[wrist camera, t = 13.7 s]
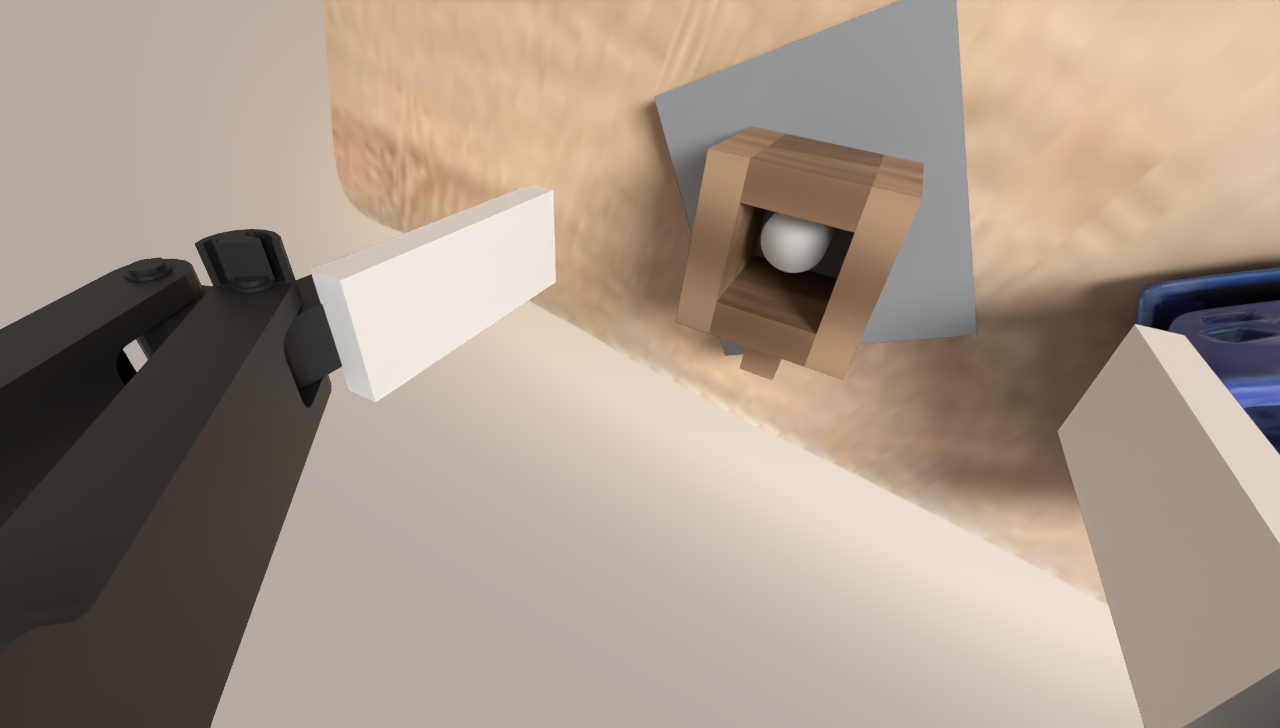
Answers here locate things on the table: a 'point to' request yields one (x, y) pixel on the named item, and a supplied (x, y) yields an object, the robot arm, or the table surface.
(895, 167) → the block
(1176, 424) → the robot arm
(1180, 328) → the flower pot
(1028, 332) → the table surface
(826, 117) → the post base
